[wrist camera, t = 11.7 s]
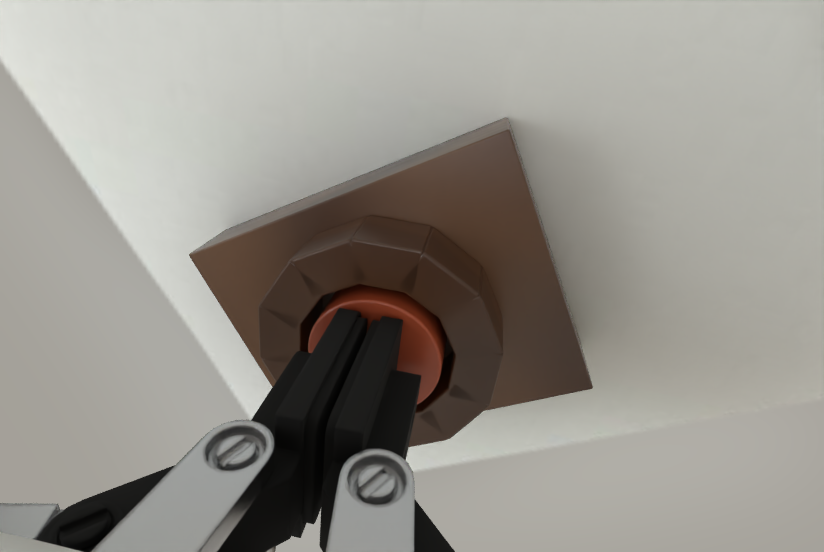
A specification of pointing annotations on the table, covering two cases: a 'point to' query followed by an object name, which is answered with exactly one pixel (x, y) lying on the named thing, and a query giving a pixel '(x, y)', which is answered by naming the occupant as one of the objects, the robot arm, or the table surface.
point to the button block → (415, 274)
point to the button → (419, 329)
